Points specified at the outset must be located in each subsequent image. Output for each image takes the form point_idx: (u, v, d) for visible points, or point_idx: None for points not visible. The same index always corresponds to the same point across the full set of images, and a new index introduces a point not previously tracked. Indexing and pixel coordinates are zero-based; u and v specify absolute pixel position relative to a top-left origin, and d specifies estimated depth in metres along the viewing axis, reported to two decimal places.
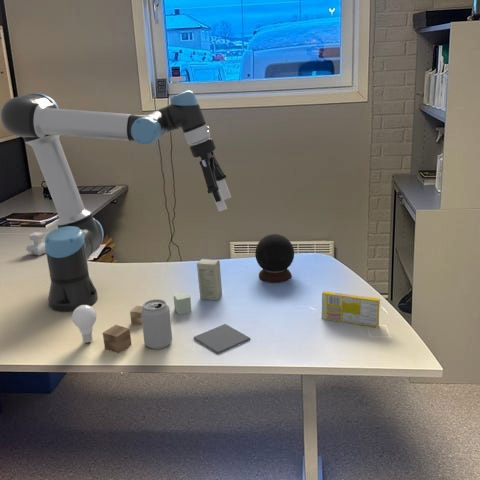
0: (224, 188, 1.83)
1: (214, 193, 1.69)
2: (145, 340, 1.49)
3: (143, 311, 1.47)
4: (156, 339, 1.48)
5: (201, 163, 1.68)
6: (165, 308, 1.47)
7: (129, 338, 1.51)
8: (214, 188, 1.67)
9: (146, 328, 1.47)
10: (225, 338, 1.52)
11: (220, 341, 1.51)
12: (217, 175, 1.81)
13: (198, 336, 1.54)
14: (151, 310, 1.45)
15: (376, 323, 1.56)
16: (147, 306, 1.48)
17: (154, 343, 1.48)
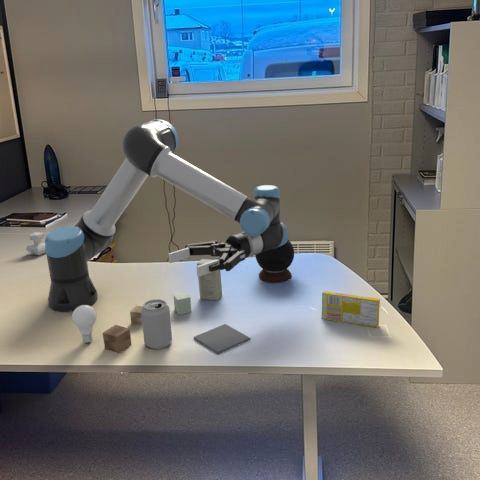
0: (181, 256, 1.58)
1: (219, 266, 1.49)
2: (145, 340, 1.49)
3: (143, 311, 1.47)
4: (156, 339, 1.48)
5: (243, 253, 1.55)
6: (165, 308, 1.47)
7: (129, 338, 1.51)
8: (229, 269, 1.49)
9: (146, 328, 1.47)
10: (225, 338, 1.52)
11: (220, 341, 1.51)
12: (196, 251, 1.61)
13: (198, 336, 1.54)
14: (151, 310, 1.45)
15: (376, 323, 1.56)
16: (147, 306, 1.48)
17: (154, 343, 1.48)
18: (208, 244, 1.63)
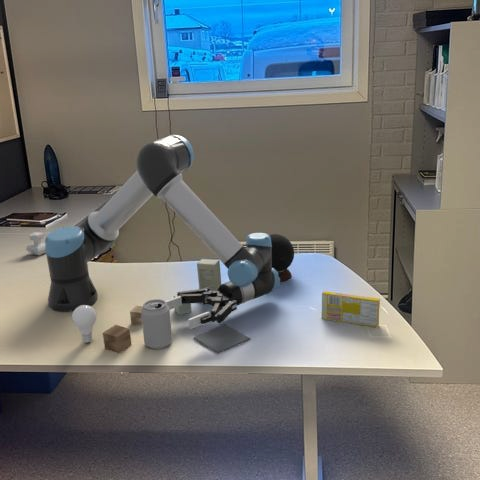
0: (173, 305, 1.60)
1: (211, 318, 1.50)
2: (145, 340, 1.49)
3: (143, 311, 1.47)
4: (156, 339, 1.48)
5: (235, 303, 1.57)
6: (165, 308, 1.47)
7: (129, 338, 1.51)
8: (220, 321, 1.50)
9: (146, 328, 1.47)
10: (225, 338, 1.52)
11: (220, 341, 1.51)
12: (188, 299, 1.62)
13: (198, 336, 1.54)
14: (151, 310, 1.45)
15: (376, 323, 1.56)
16: (147, 306, 1.48)
17: (154, 343, 1.48)
18: (200, 292, 1.65)
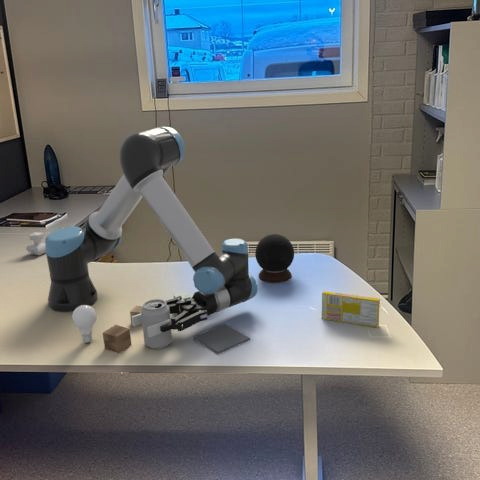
0: None
1: (171, 326, 1.46)
2: (145, 340, 1.49)
3: (143, 311, 1.47)
4: (156, 339, 1.48)
5: (205, 313, 1.51)
6: (165, 308, 1.47)
7: (129, 338, 1.51)
8: (181, 329, 1.46)
9: (146, 328, 1.47)
10: (225, 338, 1.52)
11: (220, 341, 1.51)
12: None
13: (198, 336, 1.54)
14: (151, 310, 1.45)
15: (376, 323, 1.56)
16: (147, 306, 1.48)
17: (154, 343, 1.48)
18: (173, 301, 1.59)
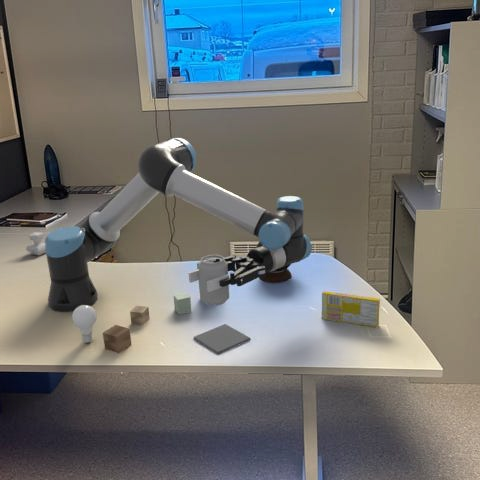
0: None
1: (230, 280, 1.43)
2: (203, 296, 1.46)
3: (201, 266, 1.43)
4: (214, 295, 1.44)
5: (263, 269, 1.48)
6: (224, 263, 1.44)
7: (129, 338, 1.51)
8: (240, 284, 1.43)
9: (204, 283, 1.44)
10: (225, 338, 1.52)
11: (220, 341, 1.51)
12: None
13: (198, 336, 1.54)
14: (210, 264, 1.42)
15: (376, 323, 1.56)
16: (205, 261, 1.45)
17: (212, 299, 1.44)
18: (228, 259, 1.55)
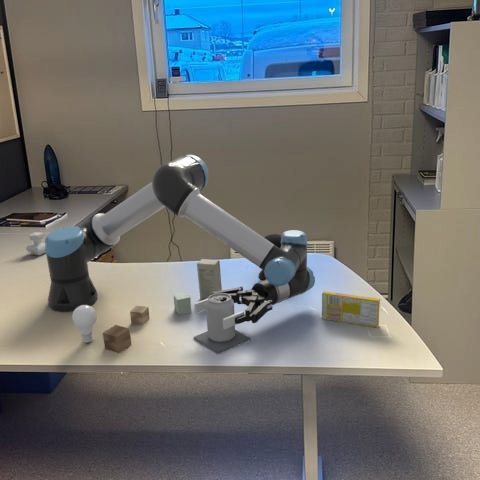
0: None
1: (245, 317, 1.46)
2: (209, 333, 1.50)
3: (209, 304, 1.48)
4: (221, 333, 1.48)
5: (271, 303, 1.52)
6: (230, 301, 1.48)
7: (129, 338, 1.51)
8: (255, 321, 1.46)
9: (211, 321, 1.48)
10: None
11: None
12: None
13: (198, 336, 1.54)
14: (218, 303, 1.46)
15: (376, 323, 1.56)
16: (212, 299, 1.49)
17: (219, 336, 1.49)
18: (234, 291, 1.60)
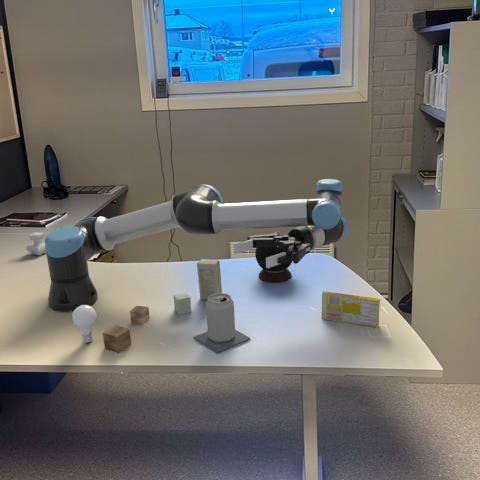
0: (245, 248, 1.58)
1: (287, 258, 1.49)
2: (209, 334, 1.50)
3: (209, 305, 1.48)
4: (221, 333, 1.48)
5: (309, 246, 1.55)
6: (230, 302, 1.48)
7: (129, 338, 1.51)
8: (297, 261, 1.49)
9: (211, 322, 1.48)
10: None
11: None
12: (259, 243, 1.61)
13: (198, 336, 1.54)
14: (218, 303, 1.46)
15: (376, 323, 1.56)
16: (212, 300, 1.49)
17: (219, 336, 1.49)
18: (270, 236, 1.63)
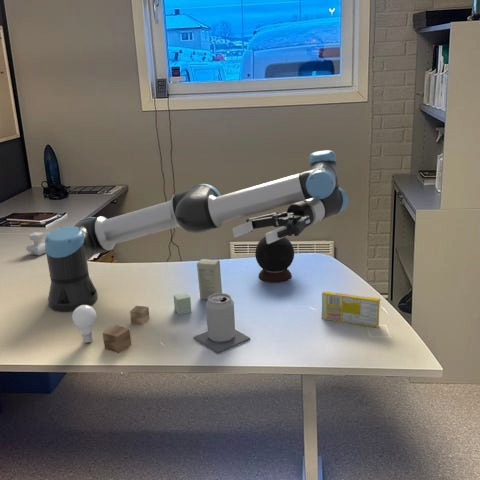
0: (244, 230, 1.56)
1: (287, 231, 1.46)
2: (209, 334, 1.50)
3: (209, 305, 1.48)
4: (221, 333, 1.48)
5: (308, 218, 1.53)
6: (230, 302, 1.48)
7: (129, 338, 1.51)
8: (297, 233, 1.46)
9: (211, 322, 1.48)
10: None
11: None
12: (259, 223, 1.59)
13: (198, 336, 1.54)
14: (218, 303, 1.46)
15: (376, 323, 1.56)
16: (212, 300, 1.49)
17: (219, 336, 1.49)
18: (269, 216, 1.61)
